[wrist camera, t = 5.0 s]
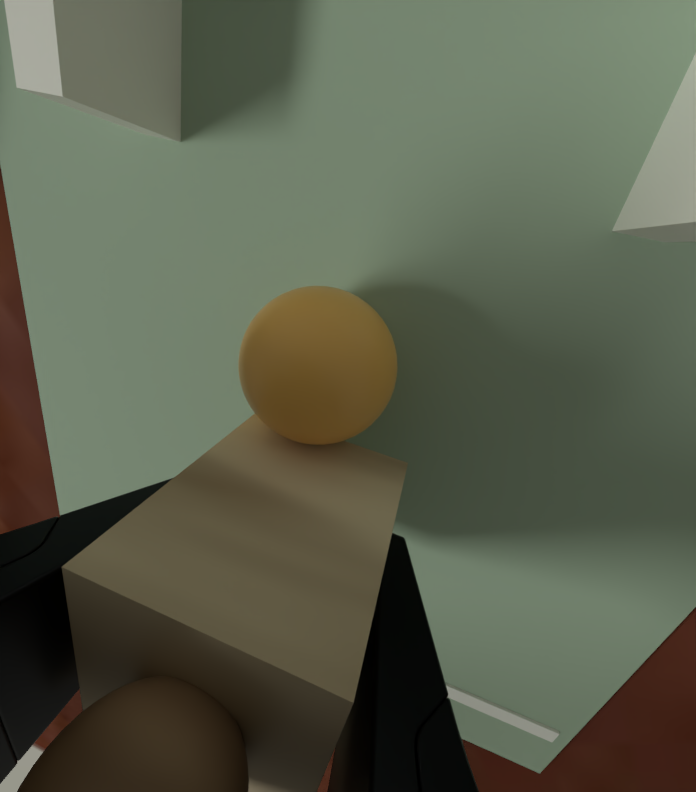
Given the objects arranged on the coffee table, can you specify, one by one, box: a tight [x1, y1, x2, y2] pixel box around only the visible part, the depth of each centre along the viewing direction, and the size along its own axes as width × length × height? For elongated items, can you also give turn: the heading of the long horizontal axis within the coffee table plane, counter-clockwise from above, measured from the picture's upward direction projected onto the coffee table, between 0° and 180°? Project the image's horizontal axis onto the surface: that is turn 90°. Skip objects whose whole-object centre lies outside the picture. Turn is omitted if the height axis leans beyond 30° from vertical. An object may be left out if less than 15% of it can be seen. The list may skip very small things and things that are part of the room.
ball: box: [238, 286, 398, 445], centre depth 8 cm, size 4×4×4 cm
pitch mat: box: [0, 0, 696, 773], centre depth 10 cm, size 26×22×1 cm
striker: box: [17, 414, 408, 792], centre depth 7 cm, size 4×4×8 cm
